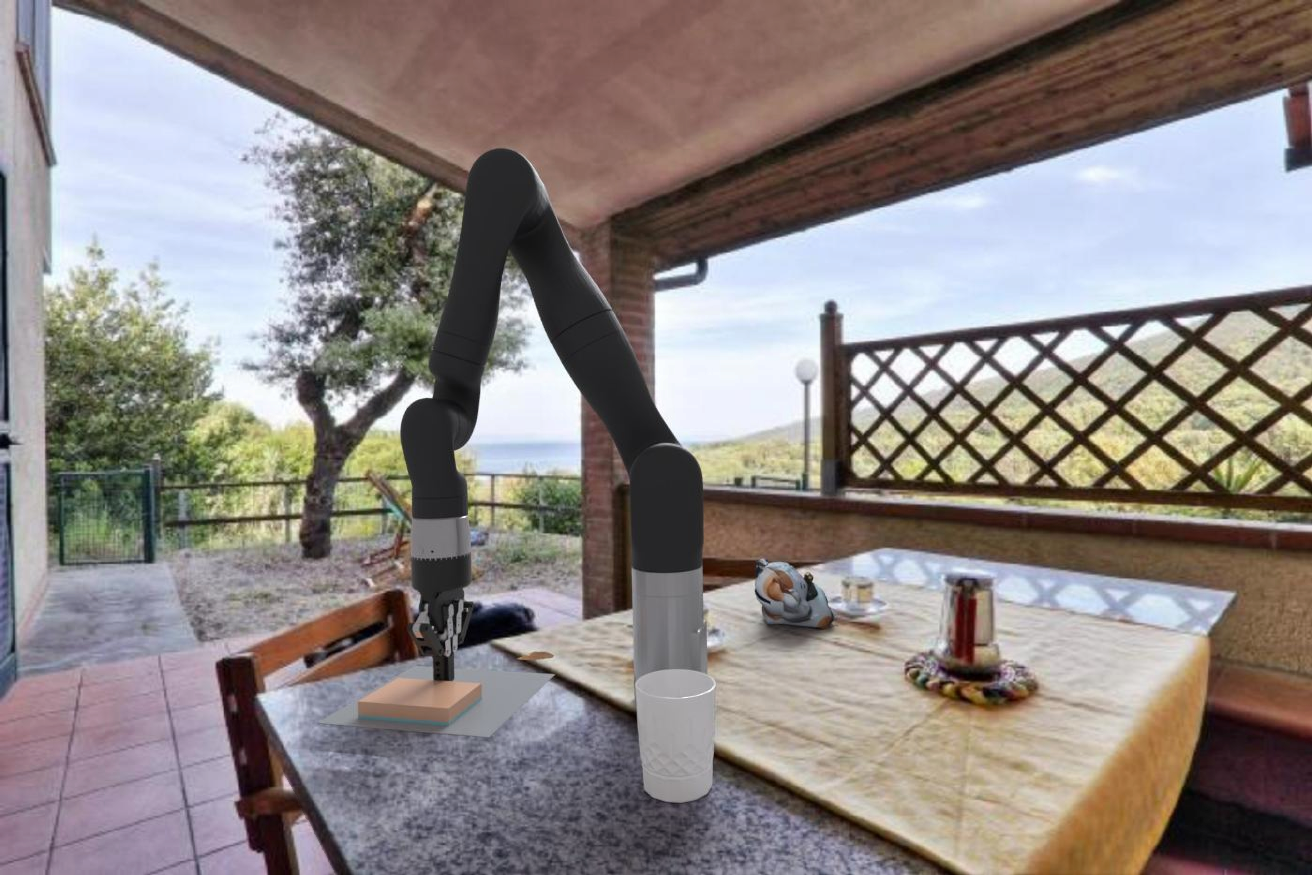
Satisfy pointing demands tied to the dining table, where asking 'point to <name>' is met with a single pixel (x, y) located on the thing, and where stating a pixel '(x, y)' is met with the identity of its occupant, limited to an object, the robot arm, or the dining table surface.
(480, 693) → the tile
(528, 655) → the shard
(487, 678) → the board
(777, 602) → the lucky cat figurine
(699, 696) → the white cup
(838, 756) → the dining table surface
